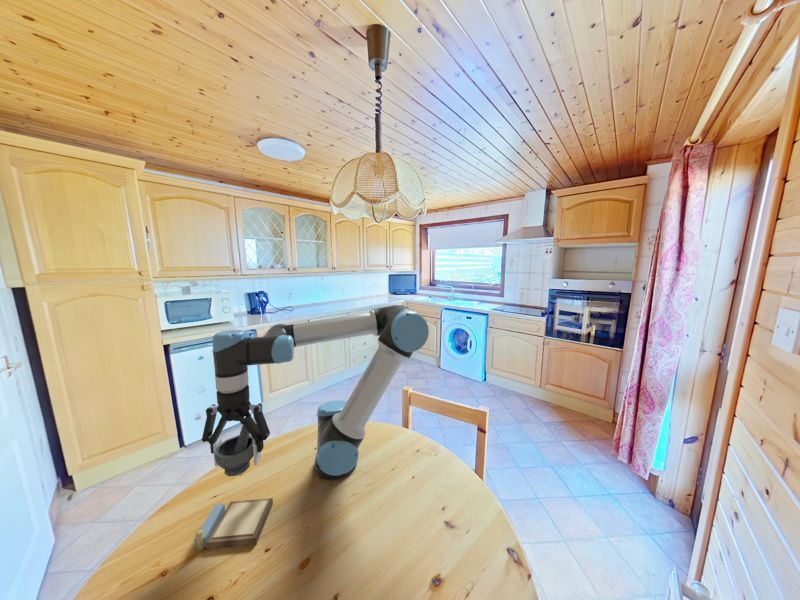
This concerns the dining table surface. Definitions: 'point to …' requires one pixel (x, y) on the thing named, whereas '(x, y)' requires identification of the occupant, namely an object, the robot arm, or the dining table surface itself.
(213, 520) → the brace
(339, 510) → the dining table surface
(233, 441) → the mortar and pestle
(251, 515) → the stand
